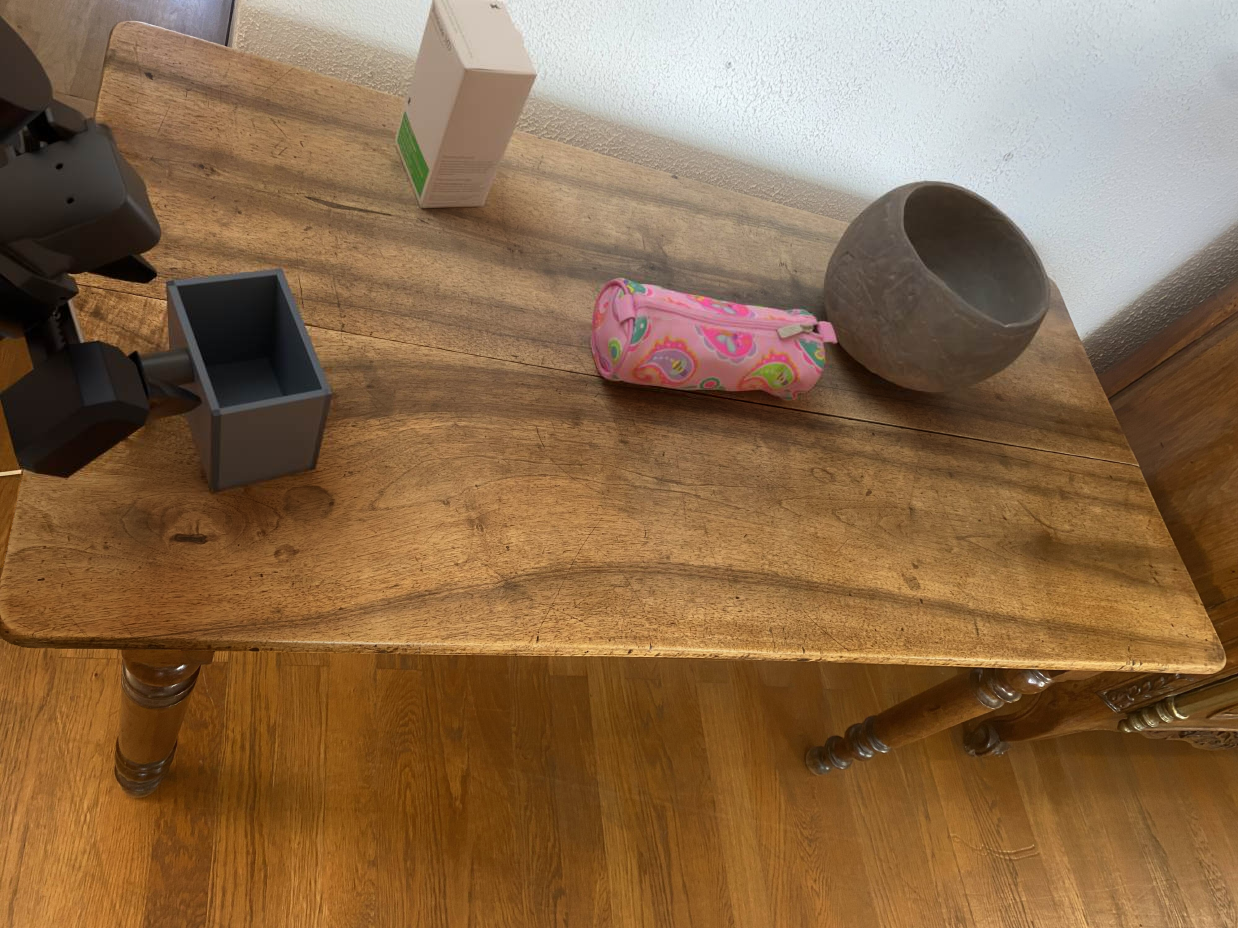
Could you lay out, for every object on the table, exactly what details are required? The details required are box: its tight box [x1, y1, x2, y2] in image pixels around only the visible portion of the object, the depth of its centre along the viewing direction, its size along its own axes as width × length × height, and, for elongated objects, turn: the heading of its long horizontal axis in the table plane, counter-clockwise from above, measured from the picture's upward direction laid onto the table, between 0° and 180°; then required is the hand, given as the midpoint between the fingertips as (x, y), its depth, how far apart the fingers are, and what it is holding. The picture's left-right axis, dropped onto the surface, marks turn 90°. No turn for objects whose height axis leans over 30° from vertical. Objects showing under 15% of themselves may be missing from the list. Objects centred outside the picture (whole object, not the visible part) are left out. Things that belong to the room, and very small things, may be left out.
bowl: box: [822, 180, 1052, 393], centre depth 88 cm, size 21×21×15 cm
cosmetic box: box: [394, 0, 538, 209], centre depth 75 cm, size 8×7×16 cm
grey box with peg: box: [139, 267, 333, 494], centre depth 57 cm, size 12×10×10 cm
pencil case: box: [590, 277, 838, 402], centre depth 78 cm, size 21×9×9 cm, turn 99°
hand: (173, 339), depth 51 cm, fingers open, 9 cm apart
